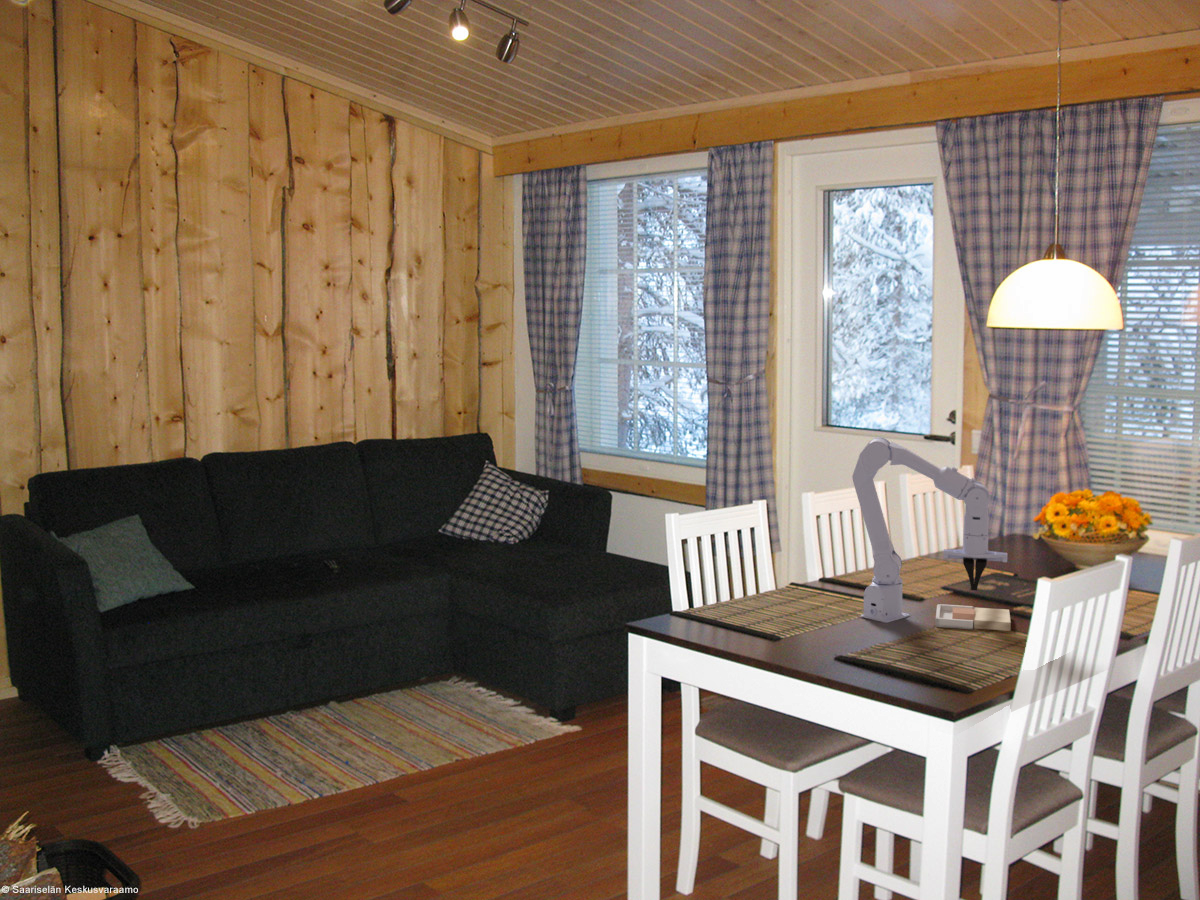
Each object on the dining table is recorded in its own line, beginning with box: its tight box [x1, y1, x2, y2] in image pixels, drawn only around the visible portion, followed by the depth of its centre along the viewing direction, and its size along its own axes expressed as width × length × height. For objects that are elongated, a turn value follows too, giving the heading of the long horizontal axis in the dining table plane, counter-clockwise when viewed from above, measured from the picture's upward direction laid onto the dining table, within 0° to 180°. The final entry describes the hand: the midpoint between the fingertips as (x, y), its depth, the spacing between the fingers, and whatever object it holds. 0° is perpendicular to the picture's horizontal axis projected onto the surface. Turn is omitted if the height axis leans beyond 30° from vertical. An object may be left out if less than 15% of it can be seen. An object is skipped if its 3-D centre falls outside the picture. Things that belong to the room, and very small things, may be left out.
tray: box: [935, 603, 974, 630], centre depth 269 cm, size 8×14×2 cm, turn 162°
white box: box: [973, 606, 1012, 632], centre depth 266 cm, size 8×12×2 cm, turn 162°
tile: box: [952, 608, 975, 623], centre depth 268 cm, size 5×5×2 cm
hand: (974, 589), depth 266 cm, fingers closed
